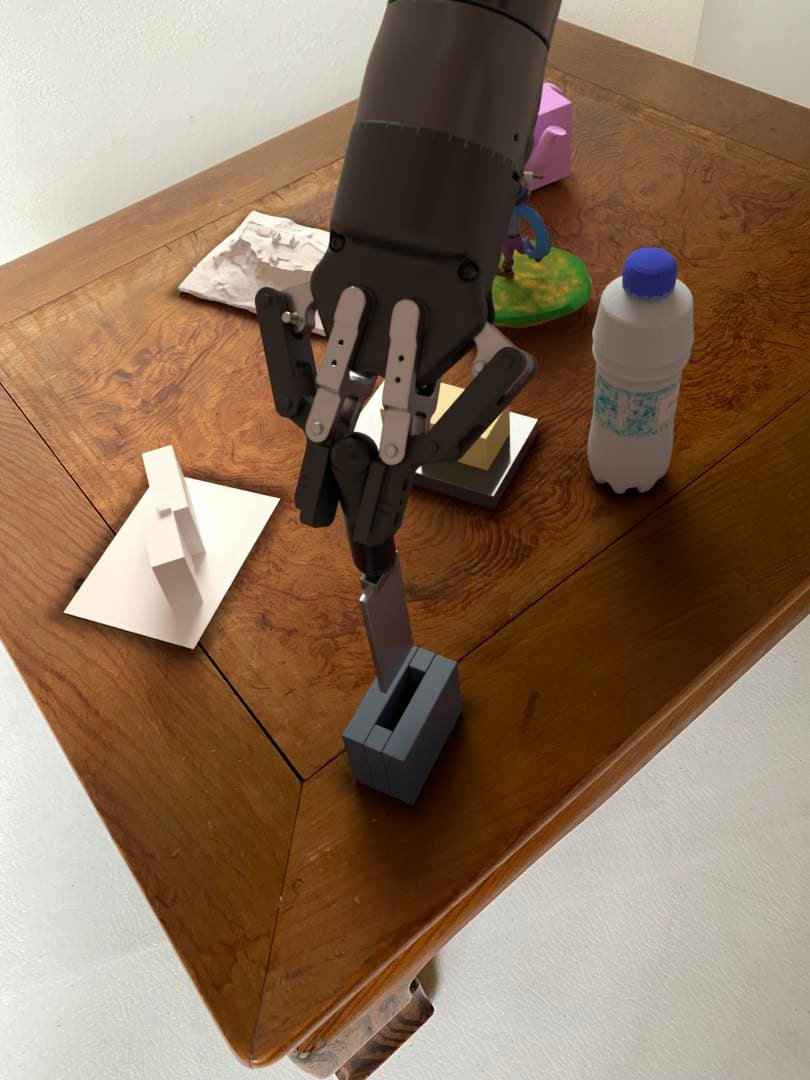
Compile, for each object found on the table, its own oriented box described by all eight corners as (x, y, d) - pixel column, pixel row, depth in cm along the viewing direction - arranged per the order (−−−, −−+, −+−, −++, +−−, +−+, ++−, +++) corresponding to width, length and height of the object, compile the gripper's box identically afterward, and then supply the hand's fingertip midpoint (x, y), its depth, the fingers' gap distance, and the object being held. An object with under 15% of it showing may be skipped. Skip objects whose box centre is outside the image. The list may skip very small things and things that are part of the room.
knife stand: (462, 709, 66) (458, 661, 61) (413, 805, 62) (403, 762, 57) (406, 687, 67) (397, 639, 63) (354, 780, 63) (340, 735, 59)
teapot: (613, 195, 101) (621, 99, 93) (498, 244, 98) (495, 148, 90) (517, 124, 112) (516, 32, 104) (410, 166, 108) (401, 74, 101)
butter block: (510, 432, 79) (509, 400, 77) (487, 471, 77) (486, 439, 74) (442, 413, 81) (440, 381, 79) (418, 450, 79) (414, 418, 76)
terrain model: (382, 362, 90) (377, 318, 86) (164, 310, 96) (150, 267, 92) (445, 254, 99) (444, 210, 95) (243, 213, 105) (234, 170, 101)
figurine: (617, 292, 92) (631, 139, 80) (545, 371, 86) (548, 219, 74) (492, 248, 98) (488, 100, 86) (416, 320, 92) (400, 171, 80)
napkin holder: (157, 471, 82) (137, 421, 78) (281, 497, 79) (266, 447, 75) (62, 614, 74) (32, 567, 70) (196, 649, 71) (174, 603, 66)
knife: (427, 650, 58) (392, 418, 44) (400, 699, 56) (353, 474, 42) (394, 637, 59) (349, 405, 44) (366, 686, 57) (308, 460, 42)
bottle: (659, 512, 75) (695, 295, 59) (573, 492, 77) (585, 278, 61) (679, 450, 78) (717, 231, 63) (595, 433, 80) (612, 217, 65)
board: (538, 432, 81) (538, 419, 80) (494, 509, 76) (493, 496, 75) (387, 390, 86) (385, 377, 85) (337, 460, 81) (334, 447, 80)
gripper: (256, 91, 41) (169, 493, 44) (573, 142, 36) (451, 591, 39) (338, 145, 48) (258, 490, 51) (613, 195, 43) (507, 573, 46)
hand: (342, 532), depth 45 cm, fingers closed on knife, 2 cm apart
